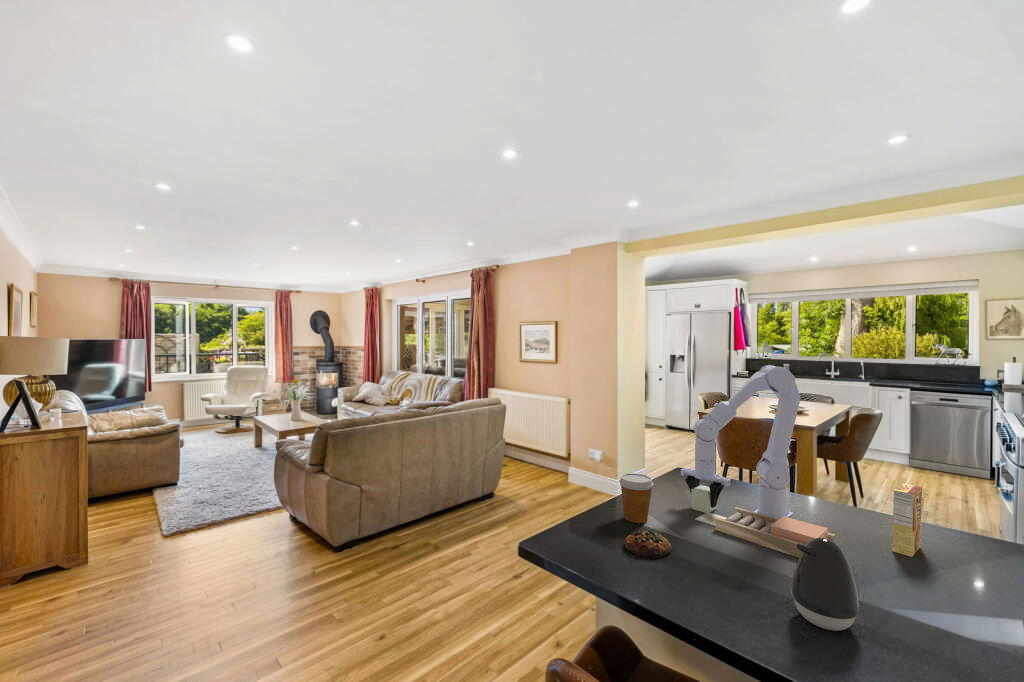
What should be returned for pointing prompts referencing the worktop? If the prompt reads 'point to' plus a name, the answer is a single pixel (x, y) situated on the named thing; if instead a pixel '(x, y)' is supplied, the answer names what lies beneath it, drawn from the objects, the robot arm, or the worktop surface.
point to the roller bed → (754, 529)
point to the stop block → (702, 499)
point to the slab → (798, 530)
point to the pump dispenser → (825, 585)
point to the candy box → (907, 519)
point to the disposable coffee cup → (636, 496)
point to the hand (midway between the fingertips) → (704, 504)
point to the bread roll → (647, 544)
